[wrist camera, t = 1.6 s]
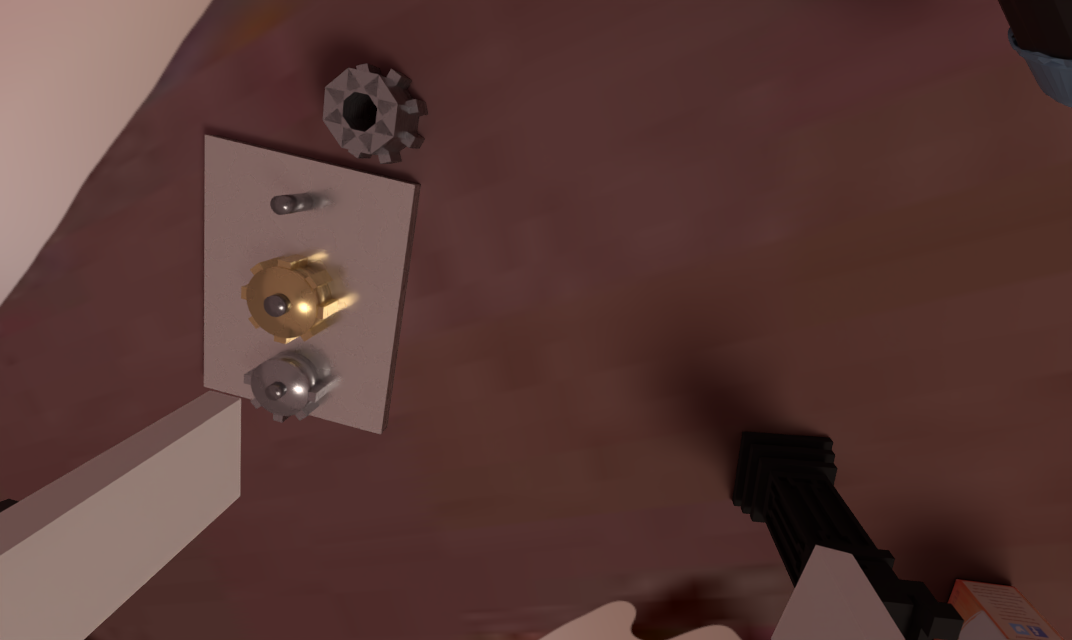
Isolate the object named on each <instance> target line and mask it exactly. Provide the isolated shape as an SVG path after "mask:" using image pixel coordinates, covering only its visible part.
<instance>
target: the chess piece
mask: <svg viewBox="0 0 1072 640" xmlns="http://www.w3.org/2000/svg"><path fill="white" fill-rule="evenodd" d="M832 445H833V441H832V440H831V439H830V438H827V437H813V436H799V435H785V434H771V433H757V432H742V439H741V446H740V453H739V459H738V466H737V473H736V479H735V486H734V493H733V499H732V501H733V504H734V506H741V510H742V512H743V513H746V514H750V517H751V519H752V521H754V522H765V523H766V524H767V527H768V529H769V531H770V533H771V536H772V538H773V540H774V543H775V545H776V547H777V549H778V552H779V554H780V556H781V558H782V561H783V563H784V565H785V567H786V570H787V572H788V574H789V576H790V579H791V581H792V583H793V586H794V588H795V587H796V585H797V583H798V581H799V579H800V577H801V575H802V573H803V571H804V568H805V566H806V564H807V562H808V560H809V558H810V556H811V554H812V552H813V550H814V548H815V545H818V546H822V547H826V548H830V549H834V550H838V551H842V552H846V553H850V554H852V555H853V556H854V558H855V560H856V561H857V563H858V564H859V566H860V568H861V569H862V571H863V572H864V574H865V576H866V577H867V579H868V580H869V582H870V584H871V585H872V587H873V588H874V590H875V592H876V593H877V595H878V597H879V598H880V600H881V601H882V603H883V605H884V606H885V608H886V609H887V611H888V613H889V614H890V616H891V617H892V619H893V621H894V622H895V624H896V626H897V627H898V629H899V630H900V632H901V634H902V635H903V637H904V638H905V640H932V638H933V639H942V640H958V638H959V635H960V632H961V629H962V626H963V623H964V619H963V618H962V617H961V616H960V614H959V613H958V612H957V610H956V609H955V608H954V607H953V605H952V604H951V603H942V602H937V600H936V599H935V598H934V596H933V595H932V594H931V592H930V591H929V590H928V588H927V587H926V586H925V584H924V583H923V582H917V581H908V580H899V579H898V577H897V576H896V574H895V573H894V572H893V570H892V567H893V564H894V560H895V558H894V557H893V556H892V554H891V553H890V551H889V550H879V549H877V547H876V546H875V544H874V543H873V542H872V540H871V539H870V537H869V536H868V534H867V533H866V532H865V530H864V529H863V527H862V526H861V524H860V523H859V522H858V520H857V519H856V517H855V516H854V514H853V513H852V512H851V510H850V509H849V507H848V506H847V504H846V503H845V502H844V500H843V499H842V497H841V496H840V494H839V493H838V492H837V490H836V489H835V487H834V481H835V477H836V472H837V467H836V466H835V465H834V458H835V454H834V453H833V451H832Z"/></svg>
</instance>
